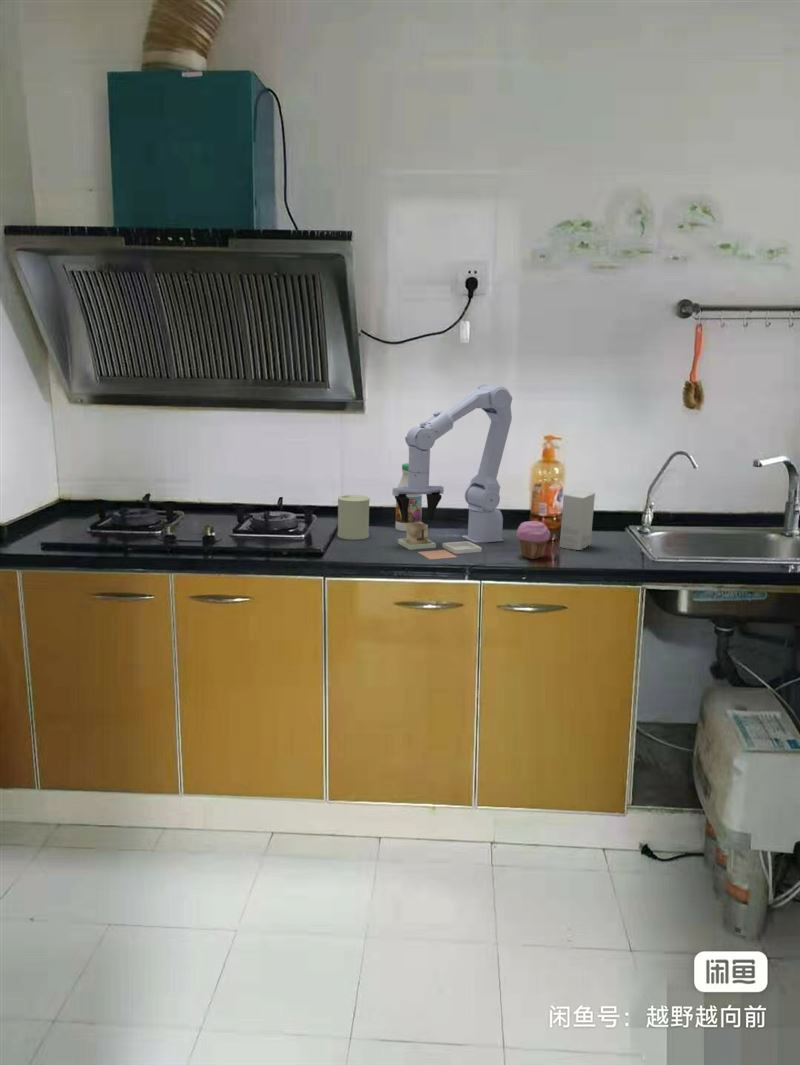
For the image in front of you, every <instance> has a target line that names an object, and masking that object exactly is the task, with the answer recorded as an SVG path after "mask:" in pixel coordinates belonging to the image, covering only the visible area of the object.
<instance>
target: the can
mask: <svg viewBox="0 0 800 1065" xmlns="http://www.w3.org/2000/svg"><path fill="white" fill-rule="evenodd" d="M369 526H370V497H369V496H366V495H359V494H348V495H347V494H345V495H340V496H339V497H337V537H338V538H340V539H343V540H344V539H345V540H365V539H367V538H369V537H370V530H369V528H370V527H369Z"/></svg>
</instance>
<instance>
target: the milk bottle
mask: <svg viewBox="0 0 800 1065" xmlns="http://www.w3.org/2000/svg"><path fill="white" fill-rule="evenodd" d="M408 470H409V462H408V463H403V464H402V465H401V472H402V476H401V479H400V481H399V484H398V485H397V488H399V487H406V486H408ZM406 496H407V498H409V499H410V500H409V505H408V519H407V522H404V521H402V516H401V512H400V508H399V505H398V503H397V501H396V500H395V530H397V531H401V532H407V523H414V522H422V510H423V509H422V506H423V504H422V503H423V502H422V501H423V497H422V496H423V494H417V495H406Z"/></svg>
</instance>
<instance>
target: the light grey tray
mask: <svg viewBox="0 0 800 1065" xmlns="http://www.w3.org/2000/svg"><path fill="white" fill-rule="evenodd" d="M442 548H443V549H444V550H446V551H448V552H450V553H451V554H453V555H458V554H460V555H461V554H471V553H481V552H482V549H483V548H482V547H481V546H479V545H478V544H476V543H474V542H472V541H470V540H468V541H467V540H466V541H464V540H463V541H453V542H450V541H449V542H442Z"/></svg>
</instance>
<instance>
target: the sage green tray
mask: <svg viewBox="0 0 800 1065" xmlns="http://www.w3.org/2000/svg"><path fill="white" fill-rule="evenodd" d="M406 539H407V537H405V538H399V539H397V544H399V545H400V546H402V547H404V548H405V549H407V550H411V551H412V550H421V549H423V550H424V549H434V548H435V549H436V547H437V543H435V542H434V541H432V540H430V539H428V538H427V544H416V545H410V544H408V543H407V542H406Z"/></svg>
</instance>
